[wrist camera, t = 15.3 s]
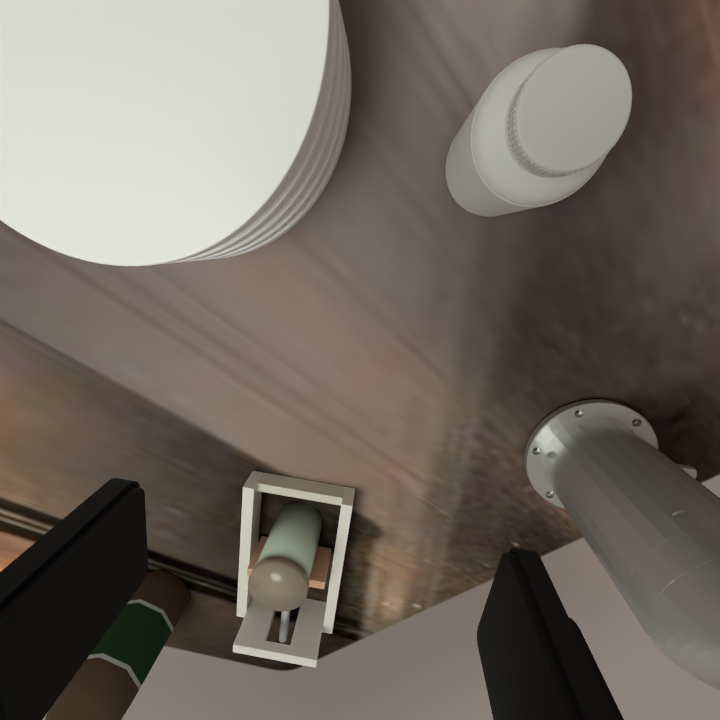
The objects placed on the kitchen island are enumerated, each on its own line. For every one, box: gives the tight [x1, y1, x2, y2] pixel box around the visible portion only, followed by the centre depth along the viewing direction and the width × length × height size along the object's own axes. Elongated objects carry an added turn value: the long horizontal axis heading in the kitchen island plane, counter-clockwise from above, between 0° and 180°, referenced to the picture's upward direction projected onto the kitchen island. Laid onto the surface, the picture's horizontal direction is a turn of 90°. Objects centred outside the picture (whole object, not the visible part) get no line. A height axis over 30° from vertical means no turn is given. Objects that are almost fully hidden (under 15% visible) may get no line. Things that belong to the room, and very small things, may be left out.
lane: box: [233, 471, 355, 667], centre depth 42 cm, size 12×19×7 cm, turn 172°
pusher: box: [247, 536, 332, 642], centre depth 45 cm, size 9×13×5 cm, turn 172°
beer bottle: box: [46, 570, 190, 720], centre depth 38 cm, size 8×8×24 cm
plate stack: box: [0, 0, 351, 266], centre depth 26 cm, size 28×28×12 cm
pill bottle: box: [445, 44, 632, 217], centre depth 24 cm, size 8×8×15 cm
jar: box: [248, 503, 322, 611], centre depth 40 cm, size 6×6×9 cm
